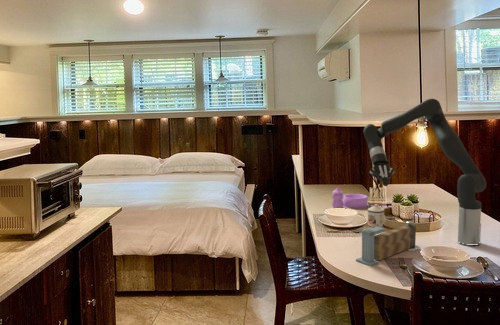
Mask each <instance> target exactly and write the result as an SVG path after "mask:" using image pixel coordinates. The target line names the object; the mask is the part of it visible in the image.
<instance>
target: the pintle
mask: <svg viewBox="0 0 500 325" xmlns="http://www.w3.org/2000/svg"><path fill="white" fill-rule="evenodd" d="M414 223H415V222H414V221H413V220H407V221H406V223H405V224H408V225H412V224H413V225H414ZM420 249H421V246H419V245H416V244H415V248H409V249H407V250H406V251H412V252H414V251H419V250H420Z"/></svg>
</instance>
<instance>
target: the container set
mask: <svg viewBox="0 0 500 325" xmlns="http://www.w3.org/2000/svg"><path fill="white" fill-rule="evenodd" d="M368 197H369V196H368V195H366V194H361V193H349V194H348V193H347V194H344V192H343V190H341V189H340V187H336V188H335V189H333V190H332V195H331V198H332V199H333V200H332V202H331V206H332V208H333V209H335V208H341V209H342V208H343V207H345V208H349V209H365V208H367V207H368V203H369V202H368V199H369V198H368Z"/></svg>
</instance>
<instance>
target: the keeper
mask: <svg viewBox="0 0 500 325" xmlns="http://www.w3.org/2000/svg"><path fill="white" fill-rule="evenodd" d="M384 232H386V228H385V227H378V226H377V227H371V228H370V227H369V228H366V229H364V230H362V231H361V236H362V237H361V257H358V258H356V259H355V262H357V263H360V264H363V265H366V266H369V267H373V266H375V265H378V264H379V263H380V262H379V261H378V260H375V259H374V236H375V235H378V234H381V233H384Z"/></svg>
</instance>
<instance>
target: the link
mask: <svg viewBox="0 0 500 325" xmlns="http://www.w3.org/2000/svg"><path fill="white" fill-rule="evenodd" d="M416 228H417V226H416V224H414V223H413V224H412V225H408V223H405V224H404V225H402V226H400V227H397V228H396V227H395V228H394V229H393V228H392V229H391V230H388V231H385V232H383V233H379V234H376V235H374V260H375V261H378V262H379V261H381V260H384V259H386V258H389V257H391V256H394V255H397V254H399V253H401V252H404V251H408V250H407V249H409V248H415V245H416V233H417V229H416Z"/></svg>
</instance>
